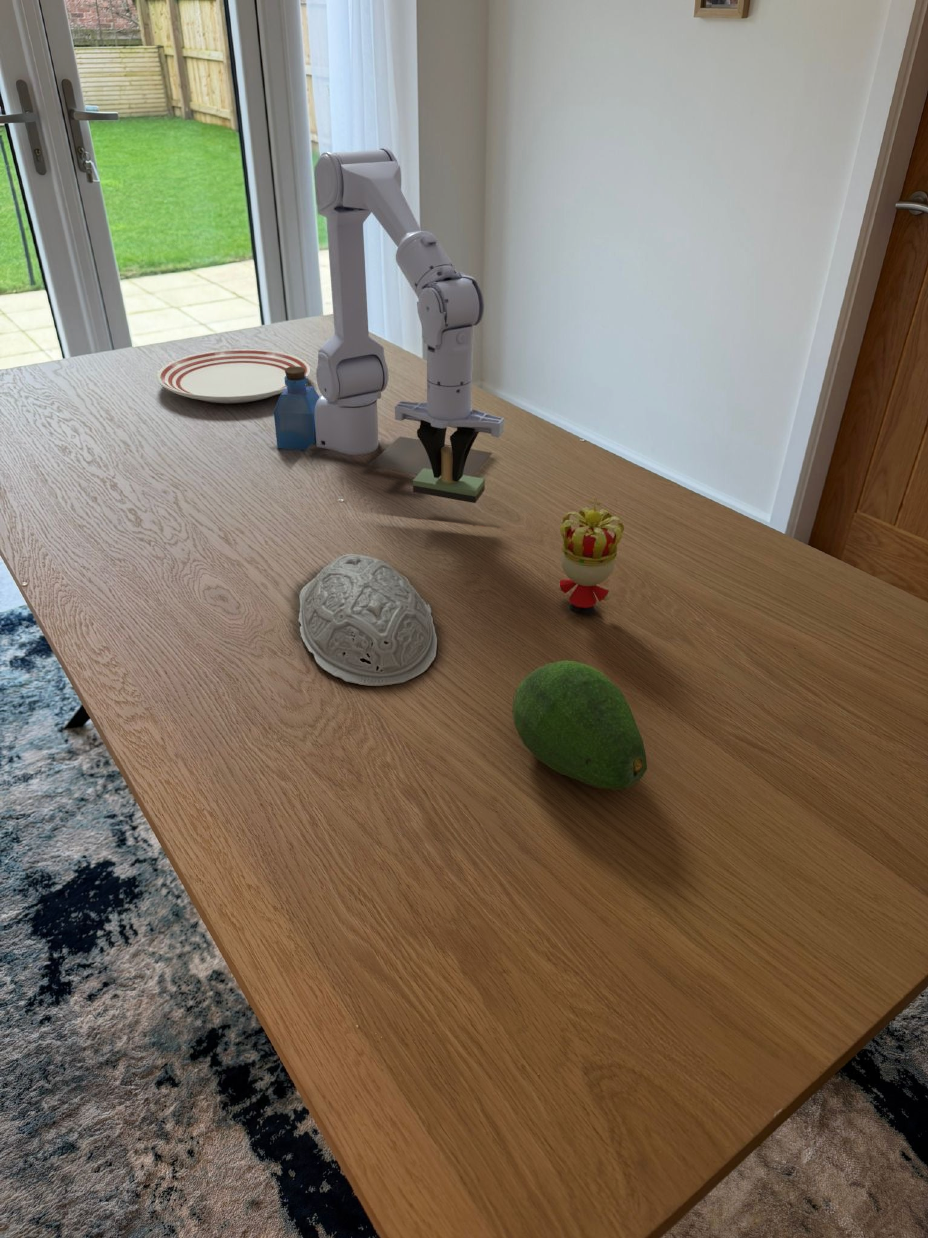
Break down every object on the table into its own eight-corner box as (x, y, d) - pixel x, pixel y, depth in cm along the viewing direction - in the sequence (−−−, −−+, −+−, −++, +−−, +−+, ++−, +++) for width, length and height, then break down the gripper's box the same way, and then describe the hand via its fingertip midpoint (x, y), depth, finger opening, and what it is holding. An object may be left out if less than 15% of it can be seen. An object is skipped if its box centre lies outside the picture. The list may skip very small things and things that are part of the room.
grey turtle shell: (315, 692, 93) (317, 638, 89) (285, 578, 113) (286, 530, 110) (457, 681, 97) (464, 629, 94) (404, 574, 118) (408, 527, 114)
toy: (617, 600, 110) (633, 490, 101) (605, 632, 104) (621, 518, 95) (560, 589, 111) (571, 479, 103) (545, 620, 106) (556, 507, 97)
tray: (368, 472, 137) (367, 465, 137) (400, 442, 147) (399, 436, 146) (465, 491, 133) (465, 483, 132) (492, 459, 142) (492, 452, 141)
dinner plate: (172, 362, 175) (169, 345, 173) (313, 360, 178) (312, 344, 176) (147, 416, 153) (143, 398, 151) (308, 413, 156) (307, 395, 154)
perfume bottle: (324, 435, 148) (319, 364, 142) (315, 450, 143) (309, 377, 136) (287, 432, 149) (280, 361, 142) (277, 448, 144) (269, 375, 137)
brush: (412, 492, 122) (412, 450, 118) (423, 479, 125) (423, 438, 122) (475, 503, 120) (476, 460, 116) (484, 490, 123) (486, 448, 119)
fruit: (666, 798, 83) (683, 716, 77) (576, 836, 79) (588, 753, 73) (573, 703, 93) (583, 625, 88) (491, 732, 89) (495, 653, 84)
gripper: (383, 380, 112) (386, 479, 120) (493, 397, 108) (488, 498, 116) (406, 363, 117) (407, 458, 125) (511, 379, 113) (506, 476, 121)
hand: (448, 476), depth 121 cm, fingers closed on brush, 2 cm apart
